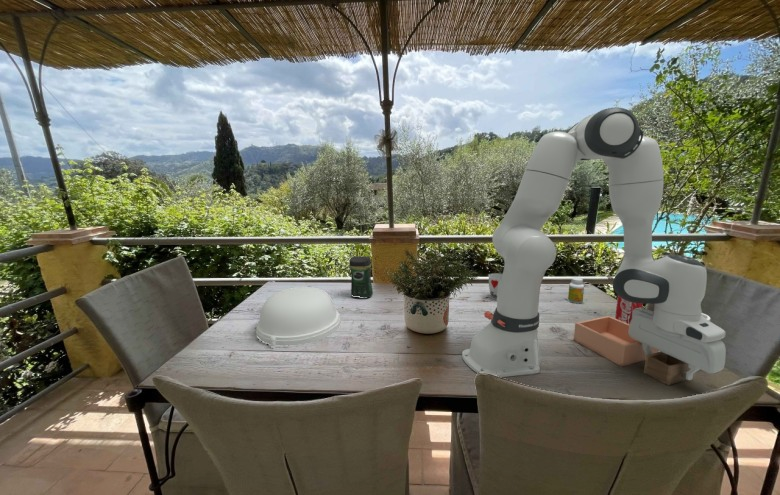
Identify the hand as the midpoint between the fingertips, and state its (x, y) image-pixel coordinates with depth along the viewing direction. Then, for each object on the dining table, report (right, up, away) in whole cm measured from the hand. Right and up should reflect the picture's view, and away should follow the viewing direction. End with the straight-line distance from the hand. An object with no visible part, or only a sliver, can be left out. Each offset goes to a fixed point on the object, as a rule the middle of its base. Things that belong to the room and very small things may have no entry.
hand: (667, 369), depth 86 cm
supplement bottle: (+5, +9, +51) cm, 52 cm away
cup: (-26, +9, +57) cm, 63 cm away
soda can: (+10, +4, +28) cm, 30 cm away
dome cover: (-105, +2, +36) cm, 111 cm away
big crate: (-4, +1, +15) cm, 15 cm away
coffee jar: (-85, +9, +65) cm, 107 cm away
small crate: (0, -2, 0) cm, 2 cm away
